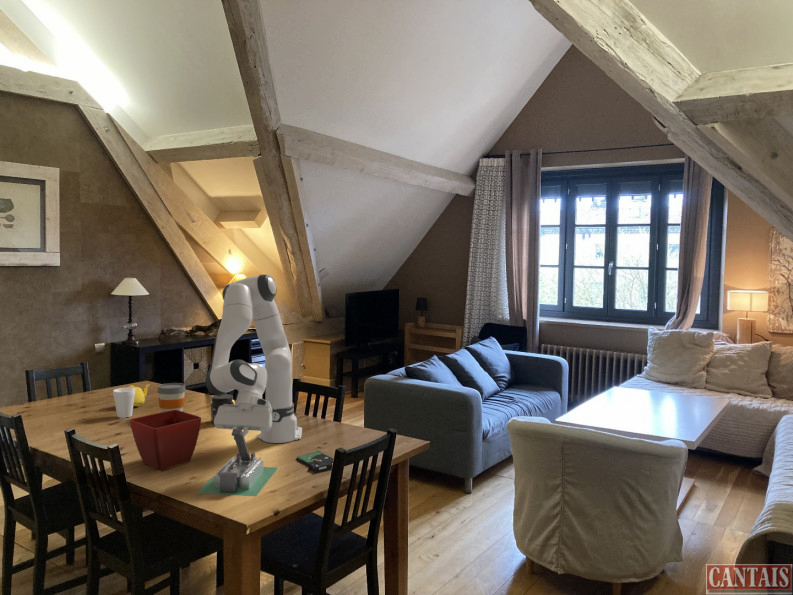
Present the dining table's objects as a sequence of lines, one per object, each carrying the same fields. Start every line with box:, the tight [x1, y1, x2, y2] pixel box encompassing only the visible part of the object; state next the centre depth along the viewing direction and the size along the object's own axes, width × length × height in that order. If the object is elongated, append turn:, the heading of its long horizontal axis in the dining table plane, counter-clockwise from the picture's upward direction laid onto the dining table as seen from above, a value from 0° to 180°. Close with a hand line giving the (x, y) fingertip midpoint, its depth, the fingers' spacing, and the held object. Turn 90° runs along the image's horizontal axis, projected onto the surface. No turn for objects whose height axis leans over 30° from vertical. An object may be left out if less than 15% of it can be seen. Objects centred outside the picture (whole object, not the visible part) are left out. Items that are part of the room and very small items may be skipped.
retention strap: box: [231, 429, 251, 461], centre depth 210 cm, size 17×3×2 cm
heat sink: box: [213, 451, 264, 493], centre depth 207 cm, size 20×12×7 cm, turn 175°
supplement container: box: [210, 393, 235, 424], centre depth 283 cm, size 10×10×12 cm
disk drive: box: [295, 450, 334, 474], centre depth 228 cm, size 10×3×15 cm
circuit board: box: [195, 466, 279, 497], centre depth 209 cm, size 26×20×1 cm
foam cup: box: [112, 387, 135, 419], centre depth 290 cm, size 10×9×13 cm
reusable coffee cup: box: [157, 382, 186, 413], centre depth 291 cm, size 13×13×15 cm
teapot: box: [128, 383, 151, 408], centre depth 309 cm, size 18×11×11 cm, turn 135°
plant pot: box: [129, 410, 202, 470], centre depth 228 cm, size 19×19×17 cm
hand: (237, 439), depth 210 cm, fingers closed, pressing on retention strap
